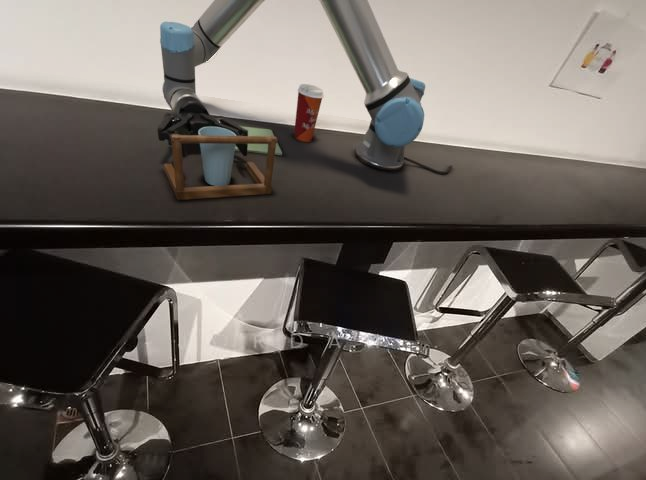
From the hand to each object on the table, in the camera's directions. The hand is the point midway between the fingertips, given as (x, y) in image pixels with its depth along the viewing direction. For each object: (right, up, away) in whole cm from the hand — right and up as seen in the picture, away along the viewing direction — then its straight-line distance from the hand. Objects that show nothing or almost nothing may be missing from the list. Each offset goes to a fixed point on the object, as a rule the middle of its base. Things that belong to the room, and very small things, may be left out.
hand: (215, 150), depth 74 cm
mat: (+1, +13, +23) cm, 26 cm away
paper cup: (+17, +18, +33) cm, 42 cm away
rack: (-1, -5, +4) cm, 6 cm away
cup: (-1, -5, +4) cm, 7 cm away
